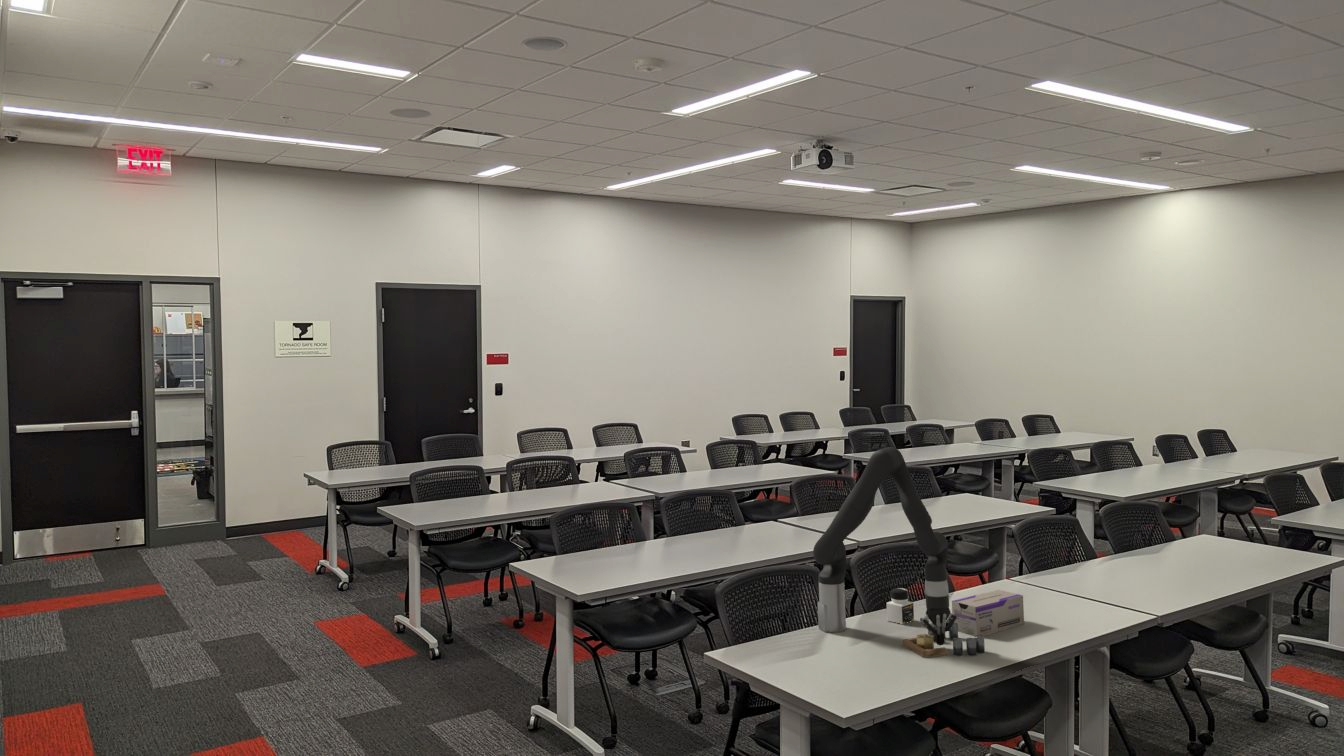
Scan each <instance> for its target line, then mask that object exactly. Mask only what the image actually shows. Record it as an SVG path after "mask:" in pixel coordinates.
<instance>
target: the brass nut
mask: <svg viewBox="0 0 1344 756" xmlns="http://www.w3.org/2000/svg"><path fill="white" fill-rule="evenodd" d="M915 638H917V645H918V646H920V647H921V648H923V649H925V650H926V649H934V648H935V642H934V639H933V635H928V634H927V633H922V634H916V637H915Z"/></svg>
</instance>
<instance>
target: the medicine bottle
mask: <svg viewBox="0 0 1344 756" xmlns="http://www.w3.org/2000/svg"><path fill="white" fill-rule="evenodd" d="M890 593H891V601H888V602H886V621H887V622H888V621H892V622H897V623H900V624H899V625H901V624H904V623H907V622H910V621H913V620H914V621H915V615H914V614H915V613H914V612H915V609H914V602H913V601H909V590H908V589H905V588H902V587H898V588H897V587H896V588H893V589H891V591H890ZM914 621H913V622H914ZM892 622H891V623H892ZM897 623H896V624H897ZM910 623H911V622H910ZM907 624H908V623H907ZM904 625H905V624H904Z"/></svg>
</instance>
